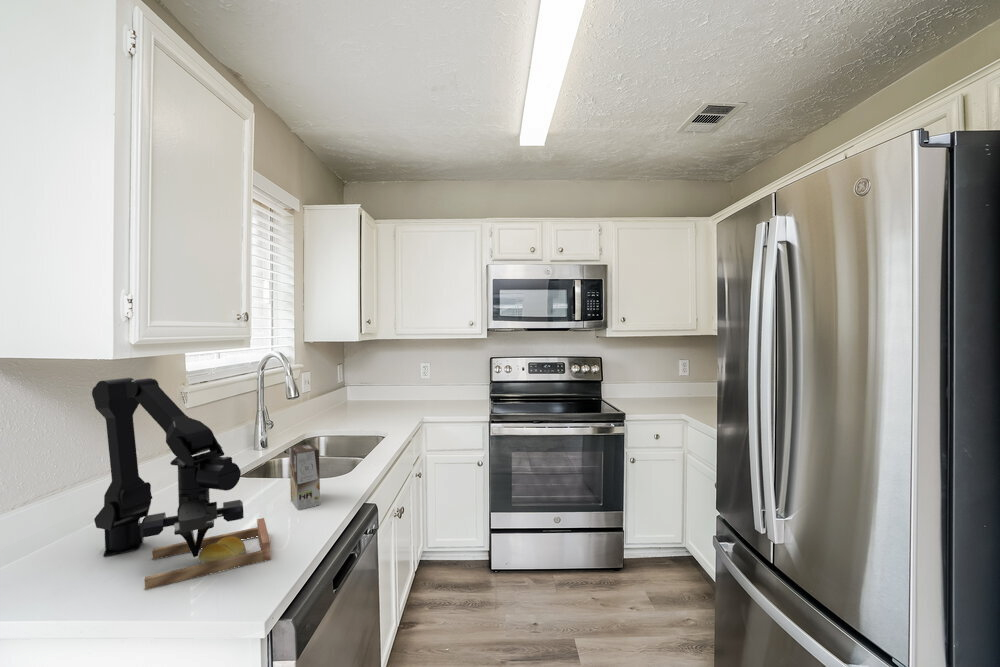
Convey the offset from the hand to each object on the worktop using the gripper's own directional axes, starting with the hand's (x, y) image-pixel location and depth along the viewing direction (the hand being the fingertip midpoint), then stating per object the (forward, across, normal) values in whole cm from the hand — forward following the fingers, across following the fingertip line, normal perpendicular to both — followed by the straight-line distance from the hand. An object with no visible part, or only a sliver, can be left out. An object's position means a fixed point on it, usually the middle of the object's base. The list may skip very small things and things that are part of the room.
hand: (195, 556), depth 106 cm
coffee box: (+1, +26, +24) cm, 36 cm away
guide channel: (+1, +3, 0) cm, 3 cm away
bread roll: (+2, +5, 0) cm, 6 cm away
